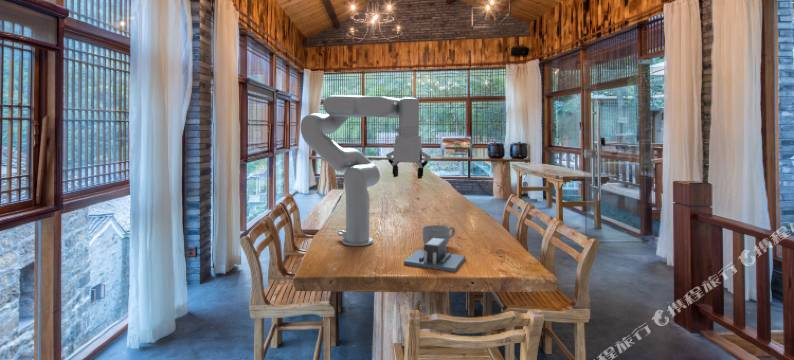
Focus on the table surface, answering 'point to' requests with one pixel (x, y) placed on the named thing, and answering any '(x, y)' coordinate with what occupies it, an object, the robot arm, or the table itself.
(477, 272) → the table surface
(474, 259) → the table surface
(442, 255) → the block
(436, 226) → the teacup
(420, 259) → the grey stand
